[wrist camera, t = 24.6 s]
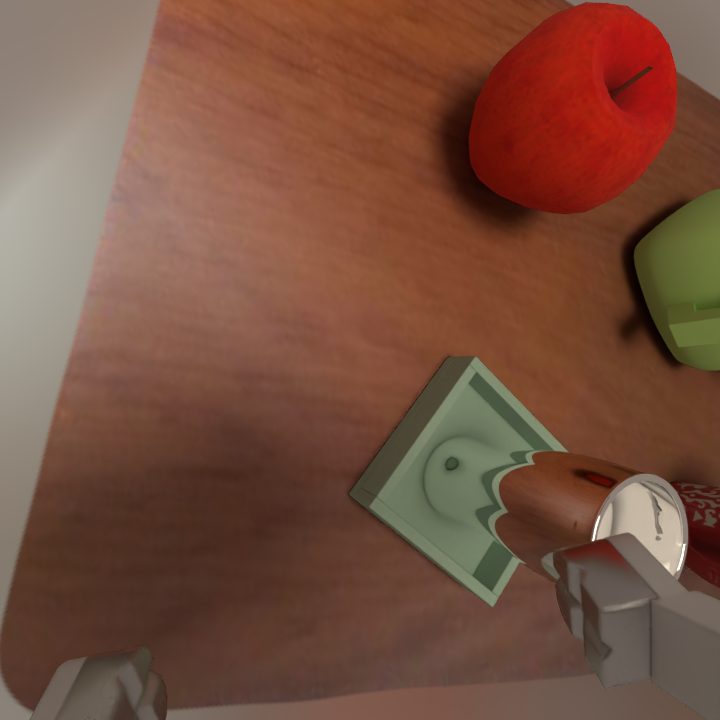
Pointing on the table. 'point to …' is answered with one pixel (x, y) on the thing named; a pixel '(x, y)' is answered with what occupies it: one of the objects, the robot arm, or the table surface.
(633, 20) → the apple
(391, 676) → the table surface
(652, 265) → the teapot
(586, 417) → the table surface
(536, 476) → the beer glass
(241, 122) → the table surface
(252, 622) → the table surface
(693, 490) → the mug
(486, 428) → the shallow green square tray
